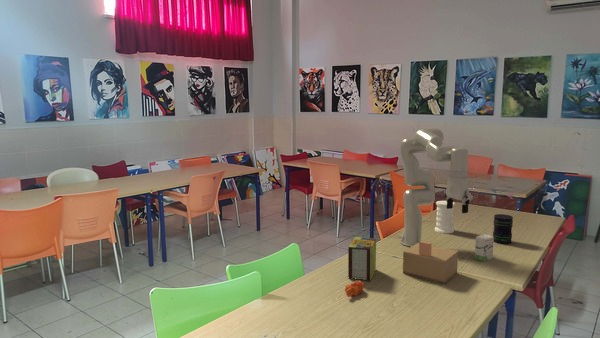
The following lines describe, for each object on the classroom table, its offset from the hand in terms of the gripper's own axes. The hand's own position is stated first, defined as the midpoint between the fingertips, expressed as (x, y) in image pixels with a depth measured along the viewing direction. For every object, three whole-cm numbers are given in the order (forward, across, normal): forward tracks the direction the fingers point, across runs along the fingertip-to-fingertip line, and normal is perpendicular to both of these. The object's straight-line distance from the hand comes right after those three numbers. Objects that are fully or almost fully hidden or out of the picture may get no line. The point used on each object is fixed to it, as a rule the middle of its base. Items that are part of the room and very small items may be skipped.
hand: (457, 210), depth 207 cm
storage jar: (+30, -22, +56) cm, 67 cm away
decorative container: (+30, -52, +41) cm, 73 cm away
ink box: (+30, -6, +25) cm, 40 cm away
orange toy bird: (+30, 0, -56) cm, 64 cm away
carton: (+30, -3, -12) cm, 32 cm away
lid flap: (+20, -3, -12) cm, 23 cm away
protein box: (+30, -16, -41) cm, 54 cm away
